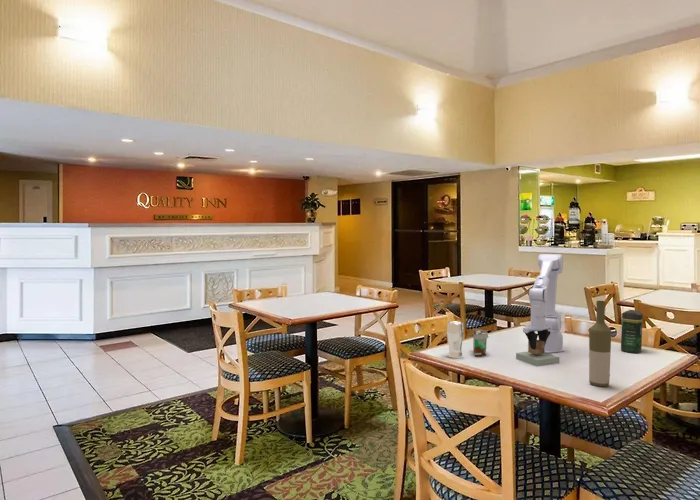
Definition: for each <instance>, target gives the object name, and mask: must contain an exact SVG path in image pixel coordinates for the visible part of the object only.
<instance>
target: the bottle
mask: <svg viewBox="0 0 700 500" xmlns="http://www.w3.org/2000/svg"><path fill="white" fill-rule="evenodd" d="M605 313H606V301H605V300H596V321H595V323H594V324H592V325H591V327H589V330H588V343H589V344H588V348H589V349H588V359H589V360H588V367H589V368H588V380H589V381H588V382H589V384H591V385H593V386H597V387H607V386H608V387H609V385H610V376H611V372H610V371H611V352H612V351H611V348H612V347H611V346H612V329H611V328H610V327H609V326H608V325H607V323H606V321H605V318H606V317H605V316H606V314H605Z"/></svg>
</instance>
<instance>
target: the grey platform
mask: <svg viewBox="0 0 700 500" xmlns="http://www.w3.org/2000/svg"><path fill="white" fill-rule="evenodd" d="M515 359H516V360H518V361H521V362H524V363H527V364H530V365H532V366H535V367H542V366H549V365H555V364H560V356H557V355H554V354H552V353H546V352H544V354H537V355H536V354H533V353H529V352H528V351H521V352H515Z"/></svg>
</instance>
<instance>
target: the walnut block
mask: <svg viewBox="0 0 700 500" xmlns="http://www.w3.org/2000/svg"><path fill="white" fill-rule="evenodd" d="M527 341H528V343H527V344H528V345H527V348H528V349H527V352H529V353H533V354H536V355H537V354H544V341H540V340H539V339H537V341H536V349H531V348H530V344H529V340H528V339H527Z"/></svg>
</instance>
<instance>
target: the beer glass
mask: <svg viewBox="0 0 700 500" xmlns="http://www.w3.org/2000/svg"><path fill="white" fill-rule="evenodd" d="M446 330H447V331H446V333H447V334H446V335H447V342H448V354H447V356H448V357H449V358H450V359H461V358H463V352H462V347H463V341H464V322H462V321H459V320H456V321H455V320H454V321H453V320H450V321H447V329H446Z"/></svg>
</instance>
